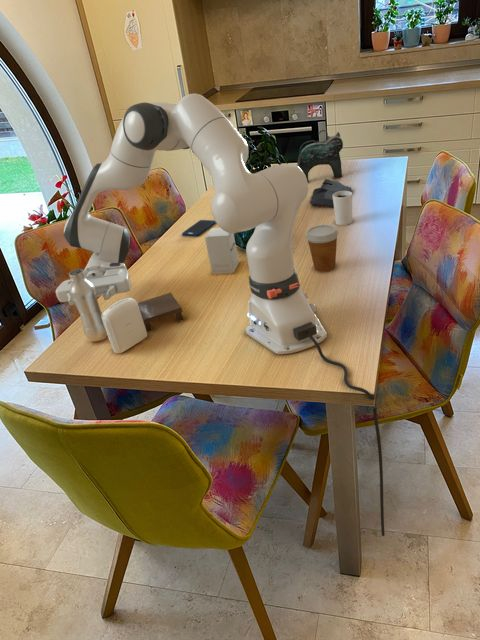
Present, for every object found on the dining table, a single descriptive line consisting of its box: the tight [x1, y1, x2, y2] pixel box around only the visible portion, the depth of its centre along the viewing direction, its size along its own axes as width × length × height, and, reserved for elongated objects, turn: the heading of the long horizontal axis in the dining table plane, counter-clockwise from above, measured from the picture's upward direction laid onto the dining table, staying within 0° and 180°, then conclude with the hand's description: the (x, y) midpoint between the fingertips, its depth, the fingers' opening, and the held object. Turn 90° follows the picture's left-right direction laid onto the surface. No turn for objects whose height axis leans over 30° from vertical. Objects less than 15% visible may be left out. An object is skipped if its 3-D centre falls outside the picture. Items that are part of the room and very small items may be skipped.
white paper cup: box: [333, 191, 353, 226], centre depth 196 cm, size 7×7×10 cm
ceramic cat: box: [296, 129, 344, 183], centre depth 237 cm, size 20×6×20 cm, turn 94°
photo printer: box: [101, 297, 148, 354], centre depth 146 cm, size 10×4×12 cm, turn 139°
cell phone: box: [181, 219, 217, 237], centre depth 213 cm, size 7×14×1 cm, turn 153°
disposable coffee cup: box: [305, 224, 339, 273], centre depth 167 cm, size 10×10×12 cm
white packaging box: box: [204, 227, 240, 275], centre depth 176 cm, size 7×7×13 cm
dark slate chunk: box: [309, 178, 352, 208], centre depth 219 cm, size 15×22×5 cm
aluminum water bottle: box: [68, 268, 108, 342], centre depth 148 cm, size 6×7×20 cm
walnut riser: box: [137, 292, 184, 333], centre depth 157 cm, size 11×11×4 cm
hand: (88, 300), depth 149 cm, fingers open, 8 cm apart
